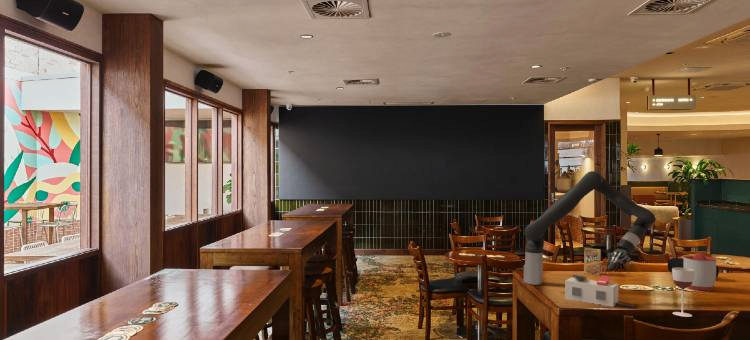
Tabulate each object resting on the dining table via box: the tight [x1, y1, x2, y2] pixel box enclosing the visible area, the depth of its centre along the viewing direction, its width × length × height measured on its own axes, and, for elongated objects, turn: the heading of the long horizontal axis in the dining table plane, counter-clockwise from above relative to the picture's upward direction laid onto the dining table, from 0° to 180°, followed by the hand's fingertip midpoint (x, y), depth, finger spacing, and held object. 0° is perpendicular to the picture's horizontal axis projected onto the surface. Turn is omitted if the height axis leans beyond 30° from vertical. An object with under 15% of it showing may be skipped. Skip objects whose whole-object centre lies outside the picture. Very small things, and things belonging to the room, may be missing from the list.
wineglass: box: [671, 267, 694, 318], centre depth 231 cm, size 8×9×20 cm
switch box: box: [564, 276, 635, 309], centre depth 250 cm, size 30×10×9 cm, turn 53°
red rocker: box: [596, 274, 611, 286], centre depth 249 cm, size 4×9×2 cm, turn 143°
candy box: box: [583, 247, 602, 276], centre depth 319 cm, size 9×4×15 cm, turn 59°
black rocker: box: [572, 274, 588, 281], centre depth 255 cm, size 4×9×2 cm, turn 143°
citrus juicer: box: [682, 251, 718, 292], centre depth 283 cm, size 16×17×20 cm
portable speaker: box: [667, 257, 720, 280], centre depth 316 cm, size 26×10×10 cm, turn 35°
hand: (609, 270), depth 253 cm, fingers closed
